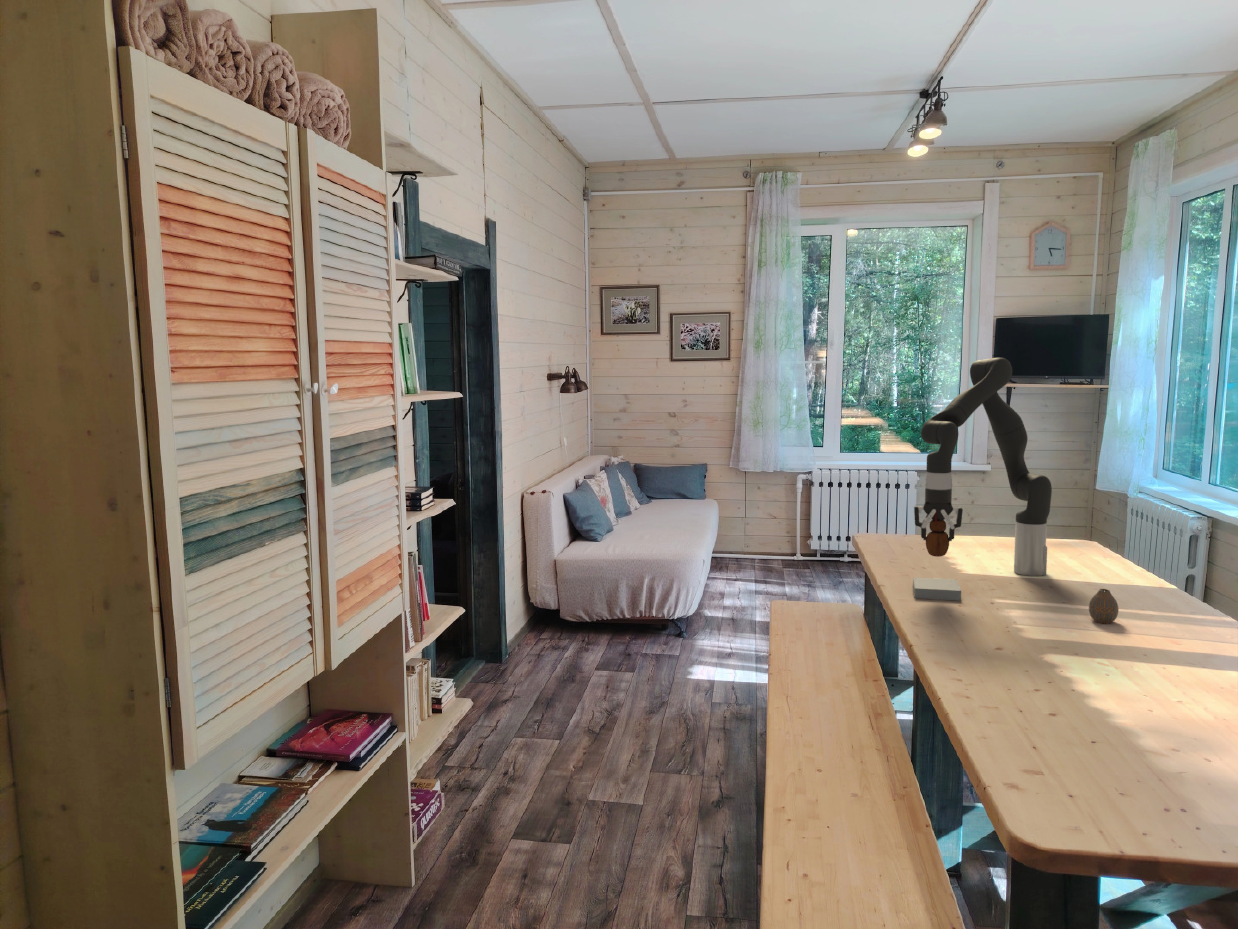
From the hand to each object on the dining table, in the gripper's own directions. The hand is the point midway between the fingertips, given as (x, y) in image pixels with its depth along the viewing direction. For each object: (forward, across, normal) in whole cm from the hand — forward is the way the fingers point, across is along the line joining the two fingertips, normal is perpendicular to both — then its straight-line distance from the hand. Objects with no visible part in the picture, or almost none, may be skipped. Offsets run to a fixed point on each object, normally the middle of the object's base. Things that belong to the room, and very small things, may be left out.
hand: (937, 540), depth 247 cm
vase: (+17, -41, +19) cm, 48 cm away
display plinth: (+17, 0, 0) cm, 17 cm away
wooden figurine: (+5, 0, 0) cm, 5 cm away
